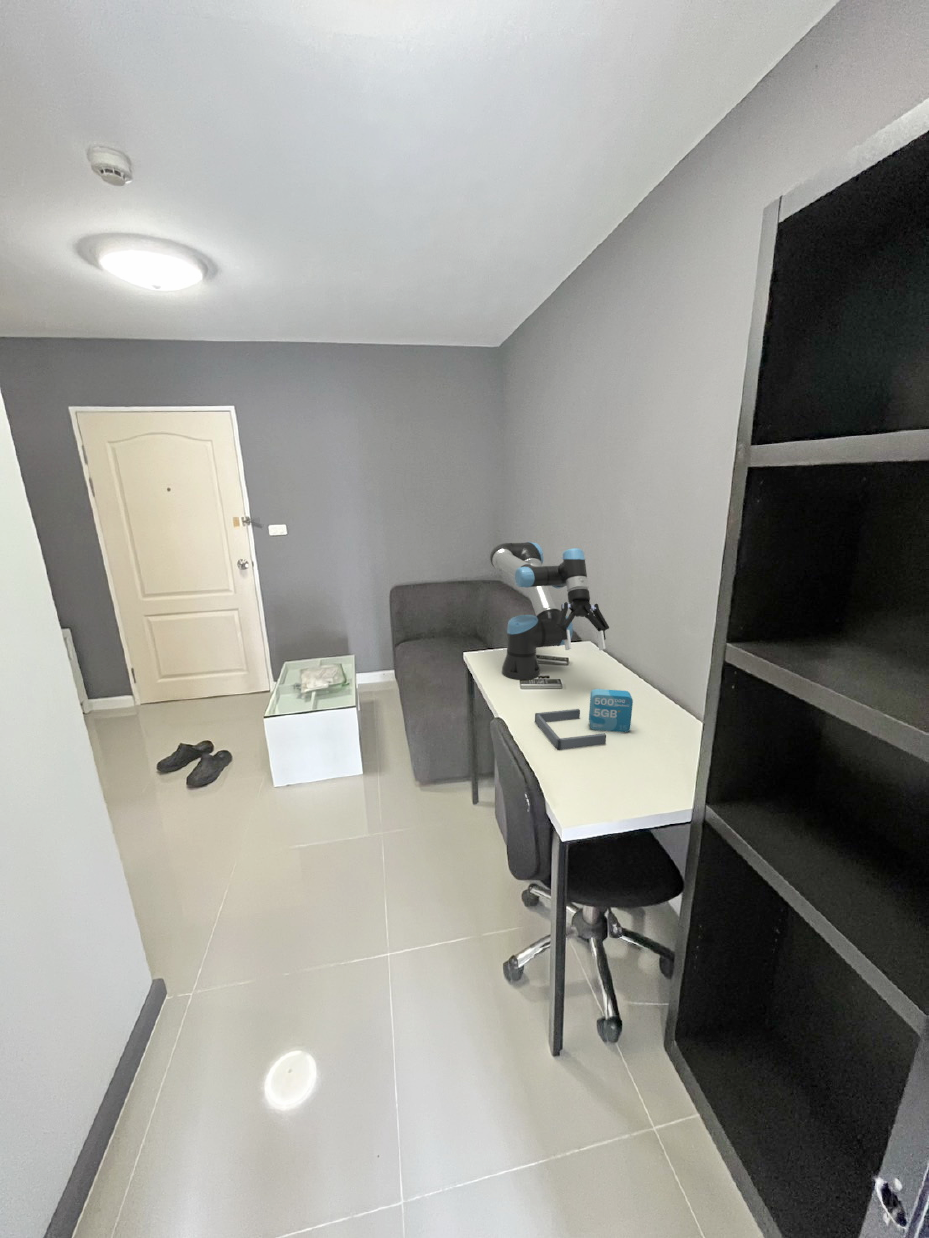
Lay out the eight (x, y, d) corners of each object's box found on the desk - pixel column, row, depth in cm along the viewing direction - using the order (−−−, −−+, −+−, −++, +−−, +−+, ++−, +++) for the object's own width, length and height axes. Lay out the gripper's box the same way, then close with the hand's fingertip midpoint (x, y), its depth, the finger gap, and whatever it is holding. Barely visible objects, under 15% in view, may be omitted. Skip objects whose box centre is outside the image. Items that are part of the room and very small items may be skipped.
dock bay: (534, 721, 155) (535, 713, 154) (578, 717, 158) (578, 708, 157) (557, 750, 138) (558, 740, 137) (605, 744, 141) (606, 734, 140)
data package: (589, 730, 150) (592, 694, 147) (588, 723, 154) (590, 688, 151) (629, 733, 148) (633, 696, 145) (627, 726, 152) (630, 690, 149)
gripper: (552, 585, 165) (559, 646, 159) (613, 589, 173) (622, 647, 168) (541, 592, 172) (548, 651, 166) (601, 595, 180) (609, 651, 175)
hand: (585, 649), depth 167 cm, fingers open, 13 cm apart
